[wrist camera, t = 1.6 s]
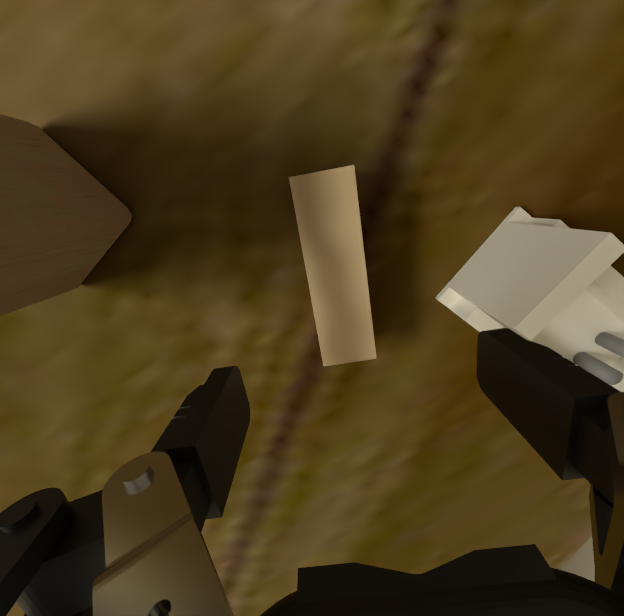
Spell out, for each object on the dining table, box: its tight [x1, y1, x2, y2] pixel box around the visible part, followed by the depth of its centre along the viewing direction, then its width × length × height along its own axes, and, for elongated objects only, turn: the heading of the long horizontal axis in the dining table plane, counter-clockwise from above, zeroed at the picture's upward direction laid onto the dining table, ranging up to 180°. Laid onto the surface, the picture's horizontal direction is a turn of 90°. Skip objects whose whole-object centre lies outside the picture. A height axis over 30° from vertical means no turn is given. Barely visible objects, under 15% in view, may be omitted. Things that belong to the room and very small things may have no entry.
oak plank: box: [289, 165, 376, 366], centre depth 25 cm, size 4×15×5 cm, turn 10°
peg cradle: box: [435, 207, 624, 392], centre depth 24 cm, size 10×20×10 cm, turn 55°
